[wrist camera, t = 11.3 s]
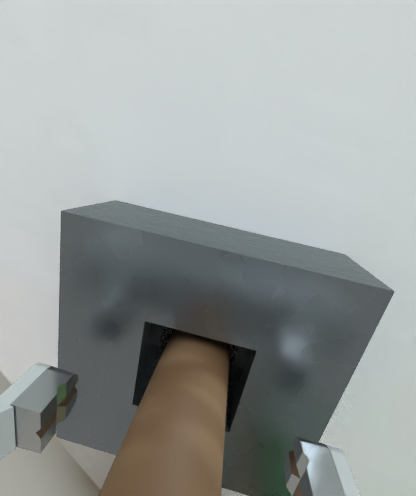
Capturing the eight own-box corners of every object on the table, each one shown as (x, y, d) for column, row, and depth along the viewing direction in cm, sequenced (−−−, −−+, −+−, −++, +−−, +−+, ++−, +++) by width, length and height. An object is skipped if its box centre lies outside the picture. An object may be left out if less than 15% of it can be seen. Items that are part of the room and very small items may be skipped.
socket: (345, 254, 12) (394, 291, 8) (274, 425, 16) (285, 506, 12) (115, 200, 13) (61, 210, 9) (99, 376, 16) (56, 436, 12)
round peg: (237, 309, 14) (231, 539, 5) (224, 354, 14) (200, 611, 6) (182, 295, 14) (85, 493, 5) (173, 341, 15) (79, 570, 6)
